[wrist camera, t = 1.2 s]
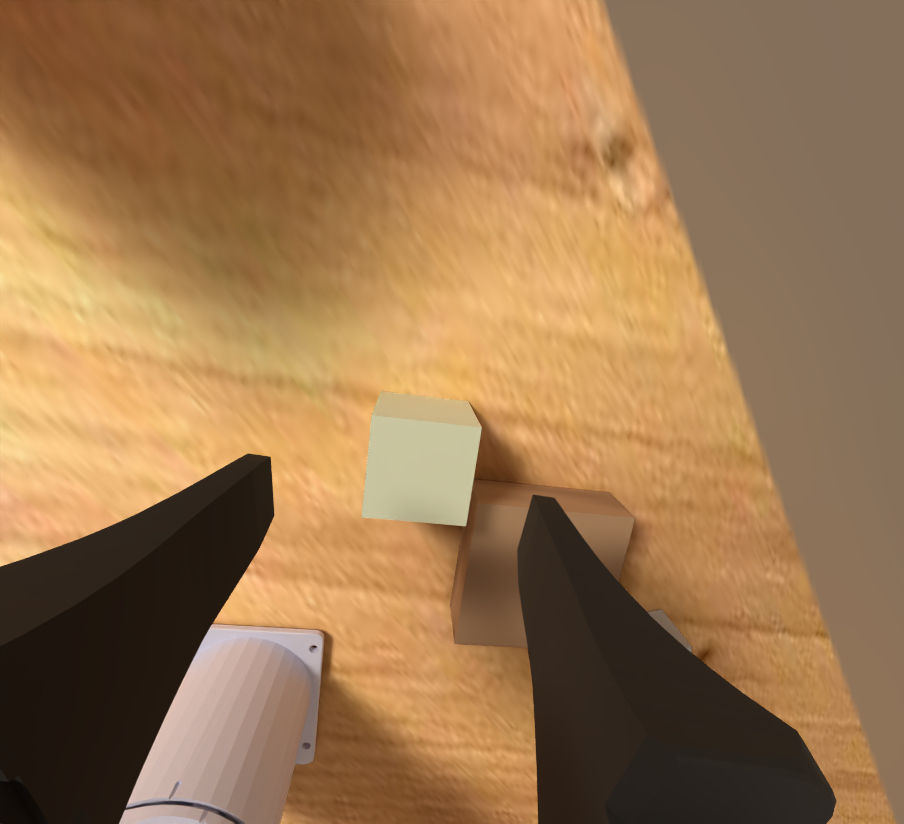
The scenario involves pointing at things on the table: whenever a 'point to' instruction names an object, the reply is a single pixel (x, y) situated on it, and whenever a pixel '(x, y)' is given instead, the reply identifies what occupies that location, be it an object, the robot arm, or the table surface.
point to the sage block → (421, 459)
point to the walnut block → (495, 554)
